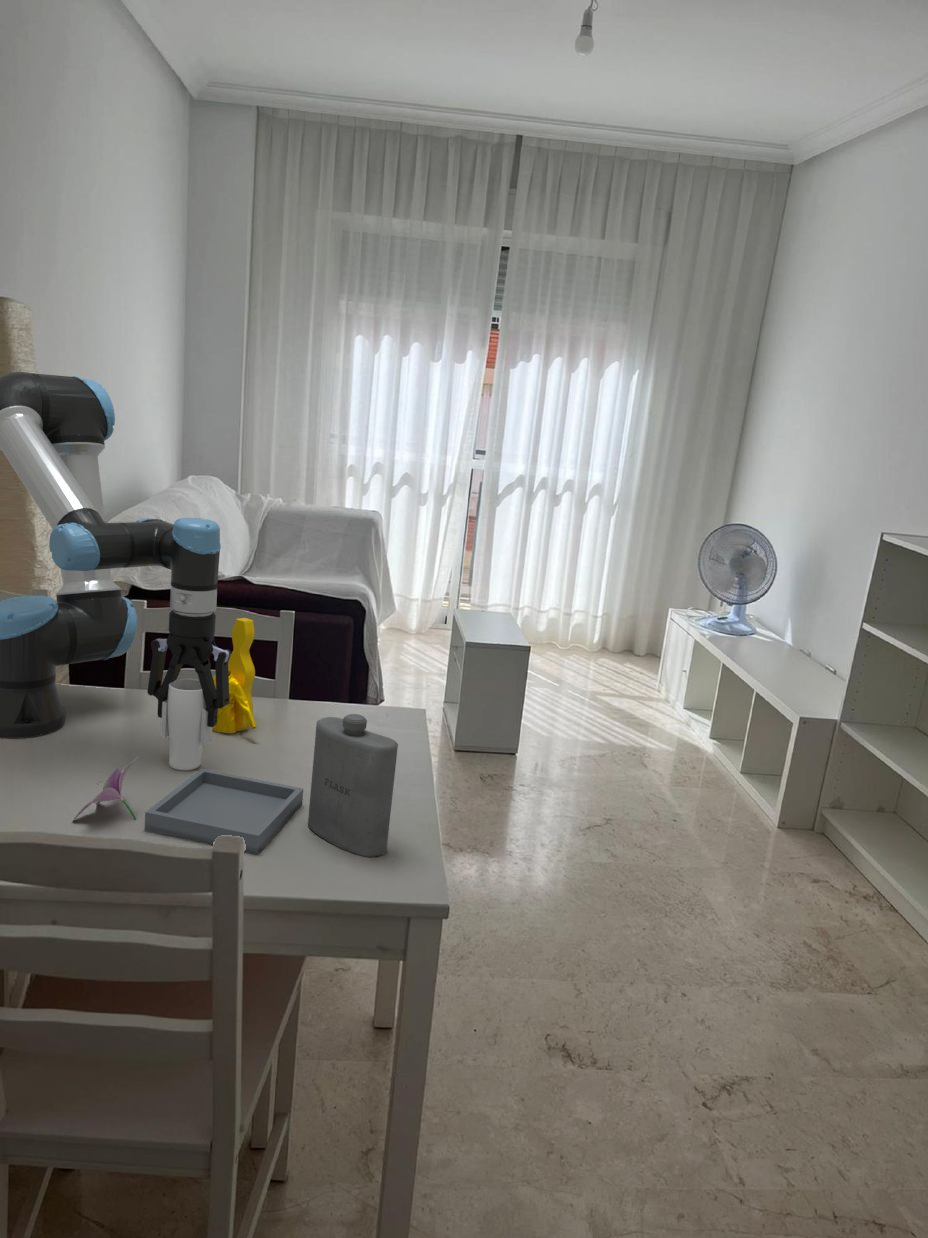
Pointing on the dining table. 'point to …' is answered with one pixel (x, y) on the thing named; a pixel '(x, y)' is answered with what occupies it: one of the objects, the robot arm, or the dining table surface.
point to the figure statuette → (239, 682)
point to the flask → (352, 785)
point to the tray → (225, 809)
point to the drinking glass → (185, 723)
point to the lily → (111, 789)
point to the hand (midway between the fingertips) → (186, 739)
